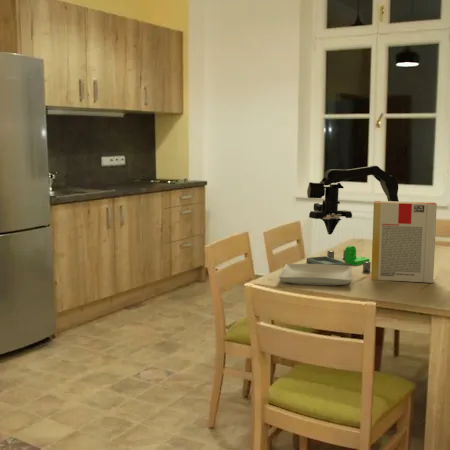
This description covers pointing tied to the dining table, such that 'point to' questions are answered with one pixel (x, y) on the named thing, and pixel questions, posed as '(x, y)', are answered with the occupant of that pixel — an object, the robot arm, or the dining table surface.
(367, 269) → the spacer posts
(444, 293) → the dining table surface
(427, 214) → the pasta box
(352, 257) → the mechanical part
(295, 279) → the square plate
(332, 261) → the parts tray
